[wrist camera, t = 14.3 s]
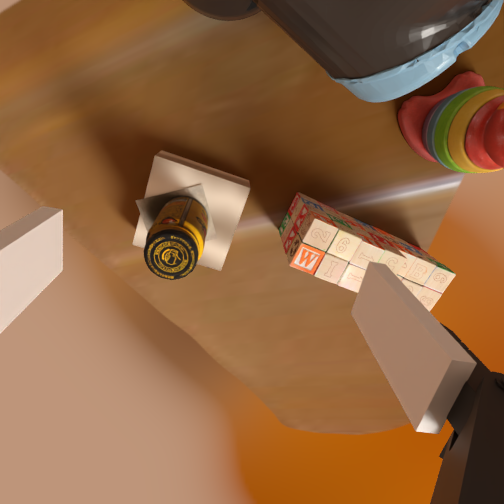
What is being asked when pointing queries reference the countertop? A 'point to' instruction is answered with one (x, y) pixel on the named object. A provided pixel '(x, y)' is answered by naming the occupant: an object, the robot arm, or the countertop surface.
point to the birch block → (217, 195)
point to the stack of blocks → (356, 251)
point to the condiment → (176, 231)
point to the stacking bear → (458, 125)
